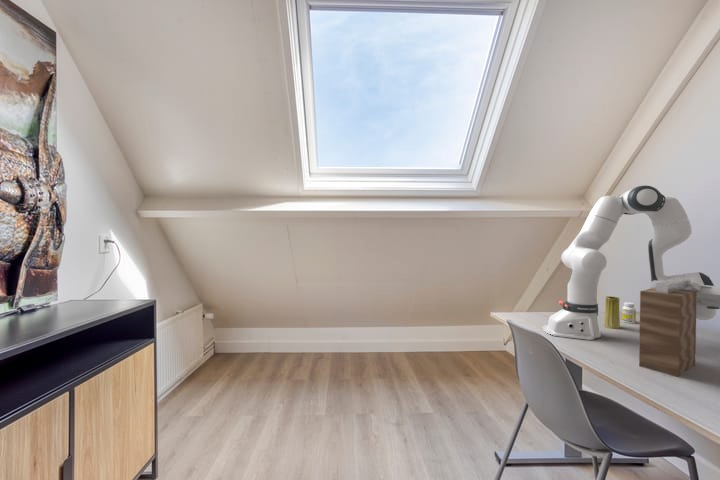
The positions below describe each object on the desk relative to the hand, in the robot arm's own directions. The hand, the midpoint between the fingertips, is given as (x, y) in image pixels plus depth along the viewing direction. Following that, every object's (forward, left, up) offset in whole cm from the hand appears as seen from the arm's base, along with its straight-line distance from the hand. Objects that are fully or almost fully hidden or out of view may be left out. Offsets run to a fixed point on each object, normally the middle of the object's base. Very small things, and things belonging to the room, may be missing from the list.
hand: (681, 282), depth 118 cm
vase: (-5, +38, -28) cm, 48 cm away
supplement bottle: (+7, +49, -28) cm, 57 cm away
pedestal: (-9, -9, -28) cm, 30 cm away
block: (-5, -5, -2) cm, 7 cm away
